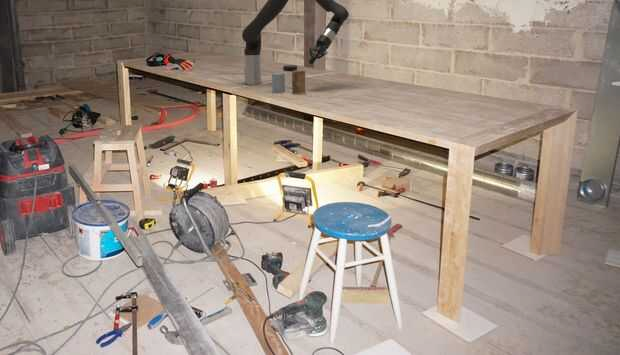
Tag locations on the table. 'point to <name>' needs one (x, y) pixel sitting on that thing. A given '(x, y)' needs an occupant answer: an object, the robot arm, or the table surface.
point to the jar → (288, 74)
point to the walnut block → (298, 82)
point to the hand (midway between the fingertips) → (310, 63)
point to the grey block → (278, 82)
